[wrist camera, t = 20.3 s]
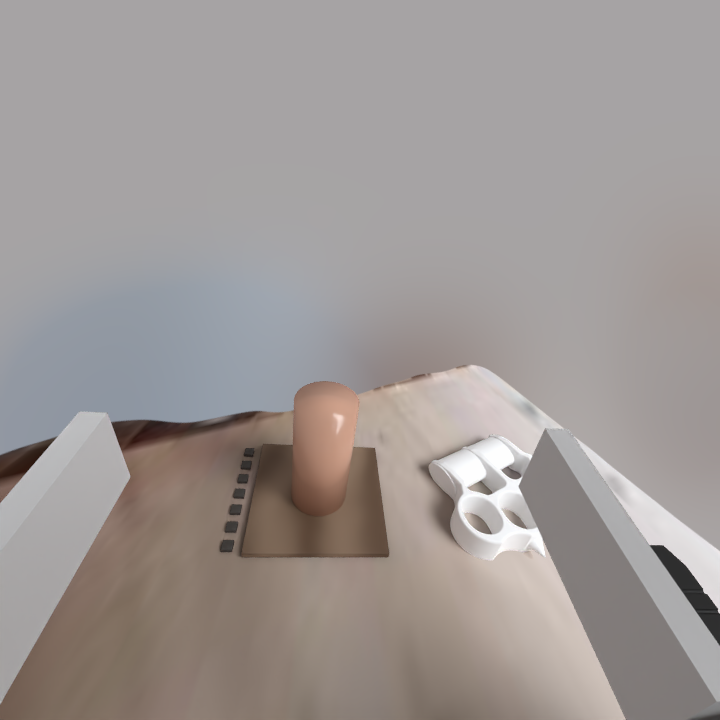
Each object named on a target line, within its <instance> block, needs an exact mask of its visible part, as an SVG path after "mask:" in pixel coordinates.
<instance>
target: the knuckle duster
mask: <svg viewBox="0 0 720 720" xmlns="http://www.w3.org/2000/svg"><path fill="white" fill-rule="evenodd" d="M532 456H533V455H531V454H528V453H525V452H523V451H521V450H520V449H519V448H518V447H517V446H515V445H514V444H513V443H512V442H510V441H508V440H507V439H506V438H504V437H502V436H500V435H493V434H492V435H489V437H488V438H486V439H484V440H482V441H480V442H477V443H475V444H473V445H471V446H468V447H463V448H462V449H461V450H460V451H457V452H455V453H453V454H451V455H448V456H446V457H444V458H442V459H440V460H433V461H432V462H431V464H429V472H430V474H431V476H432V478H433V480H434V481H435V482H436V483H437V484H438V485H439V487H440V488H441V489H442V490H443V491H444V492H445V493H447V494H448V495H449V496H450V497H451V498H452V499H453V500H454V504H455V509H454V511H453V514H452V516H451V520H450V528H451V532H452V535H453V537H454V539H455V540H456V542H457V543H458V544H459V545H460V546H461V547H462V548H463V549H464V550H465V551H466V552H468V553H469V554H471V555H473V556H475V557H477V558H480V559H484V560H494V558H495V557H496V556H497V555H498V554H499V553H500V552H503V551H506V550H515V551H519V552H526V551H530V550H533V551H535V552H537V553H538V554H540V555H542V556H543V557H545V553H544V548H543V543H542V541H543V539H542V536H541V534H540V532H539V530H538V528H537V526H536V523H535V521H534V519H533V517H532V515H531V513H530V510H529V508H528V506H527V504H526V502H525V500H524V497H523V495H522V493H521V491H520V489H519V487H518V486H519V484H520V482H521V479H522V477H523V475H524V473H525V471H526V469H527V467H528V464H529V462H530V460H531V458H532ZM507 466H508V467H509V468H510V469H511V470H514V471H516V472H518V473H519V474H520V475H521V478H519V479H511V478H509V477H508V476H507V475H505V474H504V473H503V472H502V471H501V470H502V469H504V468H505V467H507ZM479 481H481V482H482V483H483V484H484V485H486V486H487V487H488V488H489V489H490V490H491V491H492V492H493V493H492V494H490V495H485V494H483V493H480V492H474V491H471V490H469V489H468V488H467V487H469V486H471V485H473V484H475V483H477V482H479ZM501 509H507V510H510V511H512V512H513V513H515V514H516V515H518V516H519V517H520V519H521V520H522V521H523V523H524V524H525V526H526V527H527V529H524V528H521V527H518V526H516V525H515V524H513V523H512V522H511V521H510V520H509V519H508V518H507V517H506V516H505V514H504V513H503V511H502V510H501ZM464 513H472V514H475V515H477V516H479V517H480V518H481V519H483V520H484V521H485V523H486V524H487V526H488V527H489V529H490V531H491V533H492V534H484V533H481V532H479V531H477V530H476V529H474V528H473V527H472V526H471V525H470V524H469V522H468V521H467V519H466V517H465V515H464ZM545 558H546V557H545Z"/></svg>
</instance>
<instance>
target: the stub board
mask: <svg viewBox="0 0 720 720" xmlns="http://www.w3.org/2000/svg"><path fill="white" fill-rule="evenodd" d="M253 453H254V448H246V449H245V453H244V456H253ZM292 454H293V445H276V444H263V447H262V452H261V457H260V462H259V467H258V472H257V477H256V482H255V487H254V492H253V497H252V502H251V507H250V512H249V517H248V523H247V528H246V533H245V538H244V543H243V548H242V553H241V555H242V557H388V556H389V549H388V542H387V534H386V527H385V519H384V512H383V504H382V497H381V490H380V482H379V475H378V467H377V460H376V452H375V448H362V447H353V451H352V457H351V464H350V471H349V477H348V484H347V491H346V497H345V501H344V503H343V505H342V506H341V507H340V508H339V509H338V510H337V511H336V512H334V513H332V514H329V515H326V516H311V515H308V514H305V513H303V512H302V511H300V510H299V509H298V508H297V507H296V506H295V504H294V503H293V501H292V497H291V485H292ZM250 467H251V461H242V465H241V469H250ZM247 481H248V474H239V478H238V483H247ZM244 494H245V489H236V490H235V494H234V498H244ZM241 508H242V505H236V504H232V506H231V510H230V515H240V513H241ZM237 526H238V522H227V526H226V532H233V533H236V531H237ZM233 544H234V540H223V543H222V547H221V552H232V549H233Z"/></svg>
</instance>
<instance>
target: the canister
mask: <svg viewBox="0 0 720 720" xmlns="http://www.w3.org/2000/svg"><path fill="white" fill-rule="evenodd" d="M358 411H359V399H358V397H357V395H356V394H355V392H354V391H352V390H351V389H350V388H348V387H346V386H344V385H342V384H339V383H335V382H328V381H322V382H314V383H310V384H308V385H306V386H304V387H302V388H301V389H300V390H299V391H298V392H297V393H296V395H295V398H294V423H293V454H292V485H291V497H292V501H293V503H294V504H295V506H296V507H297V508H298V509H299V510H300V511H302V512H303V513H305V514H308V515H311V516H326V515H329V514H332V513H334V512H336V511H337V510H338V509H339V508H340V507H341V506H342V505H343V503H344V501H345V497H346V491H347V484H348V477H349V471H350V464H351V457H352V451H353V444H354V437H355V431H356V424H357V417H358Z"/></svg>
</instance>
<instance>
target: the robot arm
mask: <svg viewBox="0 0 720 720" xmlns="http://www.w3.org/2000/svg"><path fill="white" fill-rule="evenodd" d="M129 479H130V474H129V471H128V468H127V466H126V463H125V460H124V457H123V455H122V452H121V449H120V446H119V444H118V441H117V438H116V435H115V433H114V430H113V427H112V424H111V422H110V419H109V416H108V413H101V412H79V413H78V414H77V415H76V416H75V417H74V419H73V420H72V421H71V422H70V423H69V424H68V425H67V427H66V428H65V429H64V430H63V431H62V432H61V433H60V435H59V436H58V437H57V438H56V439H55V440H54V442H53V443H52V444H51V445H50V446H49V447H48V449H47V450H46V451H45V452H44V453H43V454H42V455H41V457H40V458H39V459H38V460H37V461H36V462H35V464H34V465H33V466H32V467H31V468H30V469H29V471H28V472H27V473H26V474H25V475H24V476H23V477H22V479H21V480H20V481H19V482H18V483H17V484H16V486H15V487H14V488H13V489H12V490H11V491H10V493H9V494H8V495H7V496H6V497H5V498H4V499H3V501H2V502H1V503H0V704H1V702H2V700H3V699H4V697H5V695H6V693H7V692H8V690H9V688H10V686H11V685H12V683H13V681H14V679H15V678H16V676H17V674H18V672H19V671H20V669H21V667H22V665H23V664H24V662H25V660H26V658H27V657H28V655H29V653H30V651H31V650H32V648H33V646H34V644H35V643H36V641H37V639H38V637H39V636H40V634H41V632H42V630H43V629H44V627H45V625H46V624H47V622H48V620H49V618H50V617H51V615H52V613H53V611H54V610H55V608H56V606H57V604H58V603H59V601H60V599H61V597H62V596H63V594H64V592H65V590H66V589H67V587H68V585H69V583H70V582H71V580H72V578H73V576H74V575H75V573H76V571H77V569H78V568H79V566H80V564H81V562H82V561H83V559H84V557H85V555H86V554H87V552H88V550H89V549H90V547H91V545H92V543H93V542H94V540H95V538H96V536H97V535H98V533H99V531H100V529H101V528H102V526H103V524H104V522H105V521H106V519H107V517H108V515H109V514H110V512H111V510H112V508H113V507H114V505H115V503H116V501H117V500H118V498H119V496H120V494H121V493H122V491H123V489H124V487H125V486H126V484H127V482H128V480H129ZM518 487H519V489H520V491H521V493H522V495H523V497H524V500H525V502H526V504H527V506H528V508H529V510H530V513H531V515H532V517H533V519H534V521H535V523H536V526H537V528H538V530H539V532H540V534H541V536H542V539H543V541H544V543H545V545H546V547H547V549H548V552H549V554H550V556H551V558H552V560H553V562H554V564H555V567H556V569H557V571H558V573H559V575H560V577H561V580H562V582H563V584H564V586H565V588H566V590H567V593H568V595H569V597H570V599H571V601H572V603H573V606H574V608H575V610H576V612H577V614H578V616H579V619H580V621H581V623H582V625H583V627H584V629H585V632H586V634H587V636H588V638H589V640H590V642H591V645H592V647H593V649H594V651H595V653H596V655H597V658H598V660H599V662H600V664H601V666H602V668H603V671H604V673H605V675H606V677H607V679H608V681H609V684H610V686H611V688H612V690H613V692H614V694H615V697H616V699H617V701H618V703H619V705H620V707H621V710H622V712H623V714H624V716H625V718H626V720H720V614H719V613H718V608H717V607H716V606H715V604H714V603H713V602H712V600H711V599H710V598H709V596H708V595H707V594H705V593H704V592H703V588H702V587H701V586H700V584H699V583H698V581H697V580H696V579H695V577H694V576H693V575H692V573H691V572H690V571H689V569H688V568H687V567H686V566H685V565H684V564H683V563H682V562H681V561H680V560H679V559H678V558H677V557H675V556H674V555H673V554H672V553H671V552H670V551H669V550H668V549H666V548H665V547H664V546H663V545H649V544H648V542H647V541H646V539H645V538H644V537H643V535H642V534H641V532H640V531H639V529H638V528H637V527H636V525H635V524H634V522H633V521H632V519H631V518H630V517H629V515H628V514H627V512H626V511H625V509H624V508H623V507H622V505H621V504H620V502H619V501H618V499H617V498H616V497H615V495H614V494H613V492H612V491H611V489H610V488H609V486H608V485H607V484H606V482H605V481H604V479H603V478H602V476H601V475H600V474H599V472H598V471H597V469H596V468H595V466H594V465H593V464H592V462H591V461H590V459H589V458H588V456H587V455H586V454H585V452H584V451H583V449H582V448H581V446H580V445H579V444H578V442H577V441H576V439H575V438H574V436H573V435H572V434H571V432H570V431H569V430H568V429H545V430H544V432H543V434H542V437H541V439H540V441H539V443H538V445H537V447H536V449H535V452H534V454H533V456H532V458H531V460H530V462H529V464H528V467H527V469H526V471H525V473H524V475H523V477H522V479H521V482H520V484H519V486H518Z"/></svg>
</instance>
